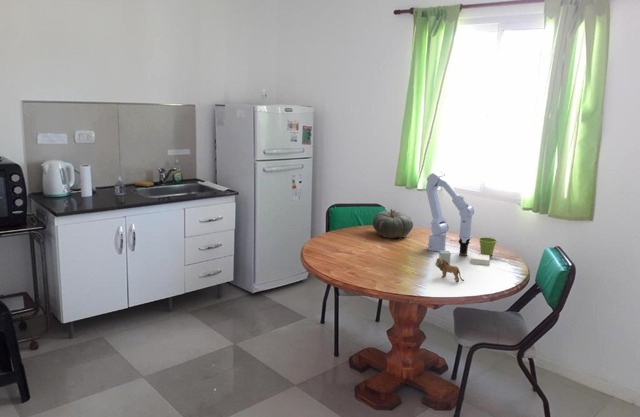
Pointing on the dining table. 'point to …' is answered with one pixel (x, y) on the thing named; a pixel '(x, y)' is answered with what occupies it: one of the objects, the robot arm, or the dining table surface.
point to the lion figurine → (448, 268)
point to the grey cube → (445, 255)
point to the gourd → (392, 224)
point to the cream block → (480, 259)
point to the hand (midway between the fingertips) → (463, 252)
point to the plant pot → (487, 245)
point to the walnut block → (463, 253)
